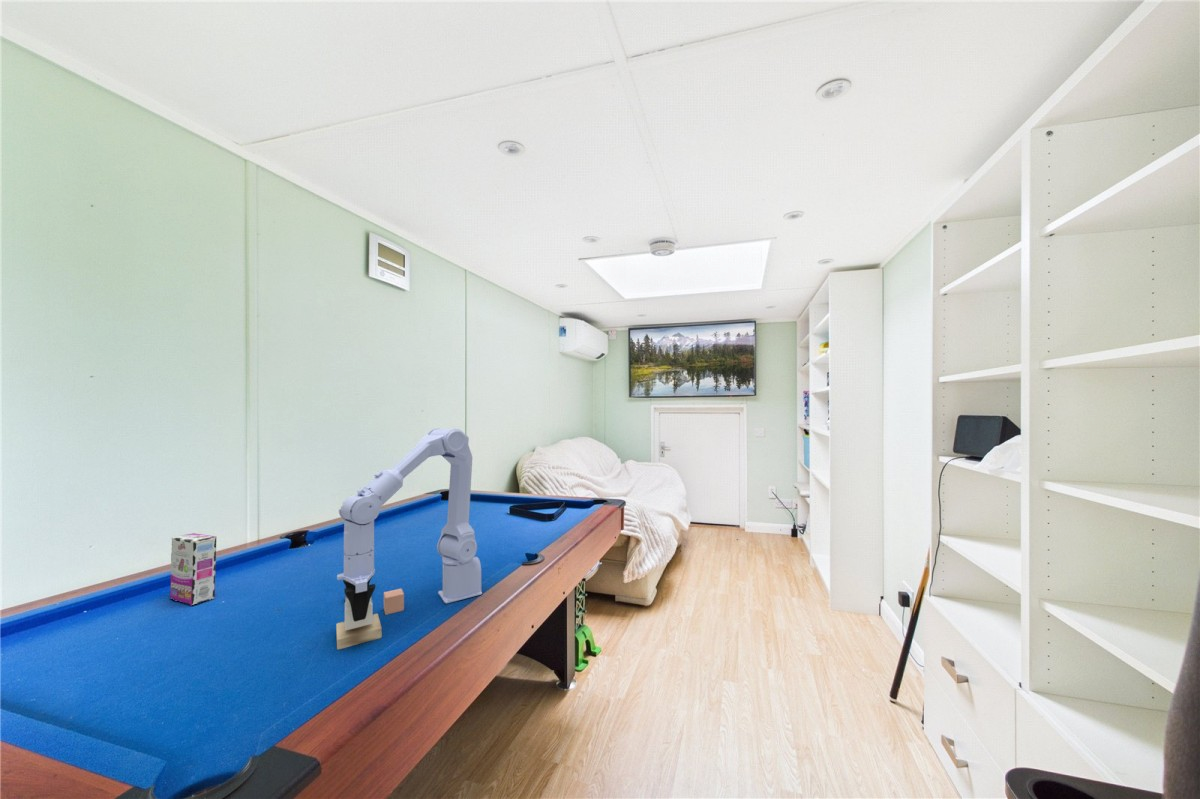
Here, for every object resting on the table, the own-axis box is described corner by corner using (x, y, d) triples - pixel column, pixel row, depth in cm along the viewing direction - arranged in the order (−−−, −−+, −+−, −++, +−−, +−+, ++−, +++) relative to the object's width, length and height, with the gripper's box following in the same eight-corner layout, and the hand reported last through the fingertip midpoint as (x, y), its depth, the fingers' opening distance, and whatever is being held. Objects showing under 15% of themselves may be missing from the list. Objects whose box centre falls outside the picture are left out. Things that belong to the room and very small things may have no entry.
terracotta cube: (401, 604, 104) (401, 588, 104) (403, 610, 101) (403, 593, 101) (383, 608, 102) (383, 592, 102) (385, 615, 98) (385, 598, 99)
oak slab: (377, 622, 95) (377, 613, 95) (381, 637, 88) (381, 628, 88) (336, 633, 90) (336, 623, 90) (337, 649, 84) (337, 639, 84)
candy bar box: (216, 598, 109) (217, 535, 110) (192, 606, 104) (193, 541, 105) (193, 592, 113) (194, 532, 114) (168, 600, 109) (170, 537, 109)
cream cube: (370, 614, 93) (370, 596, 93) (372, 623, 89) (372, 604, 89) (344, 621, 90) (344, 602, 90) (345, 630, 86) (345, 611, 86)
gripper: (336, 546, 94) (336, 606, 93) (338, 564, 82) (337, 634, 81) (371, 540, 98) (371, 598, 97) (378, 557, 86) (378, 624, 85)
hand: (358, 614), depth 89 cm, fingers closed on cream cube, 5 cm apart
